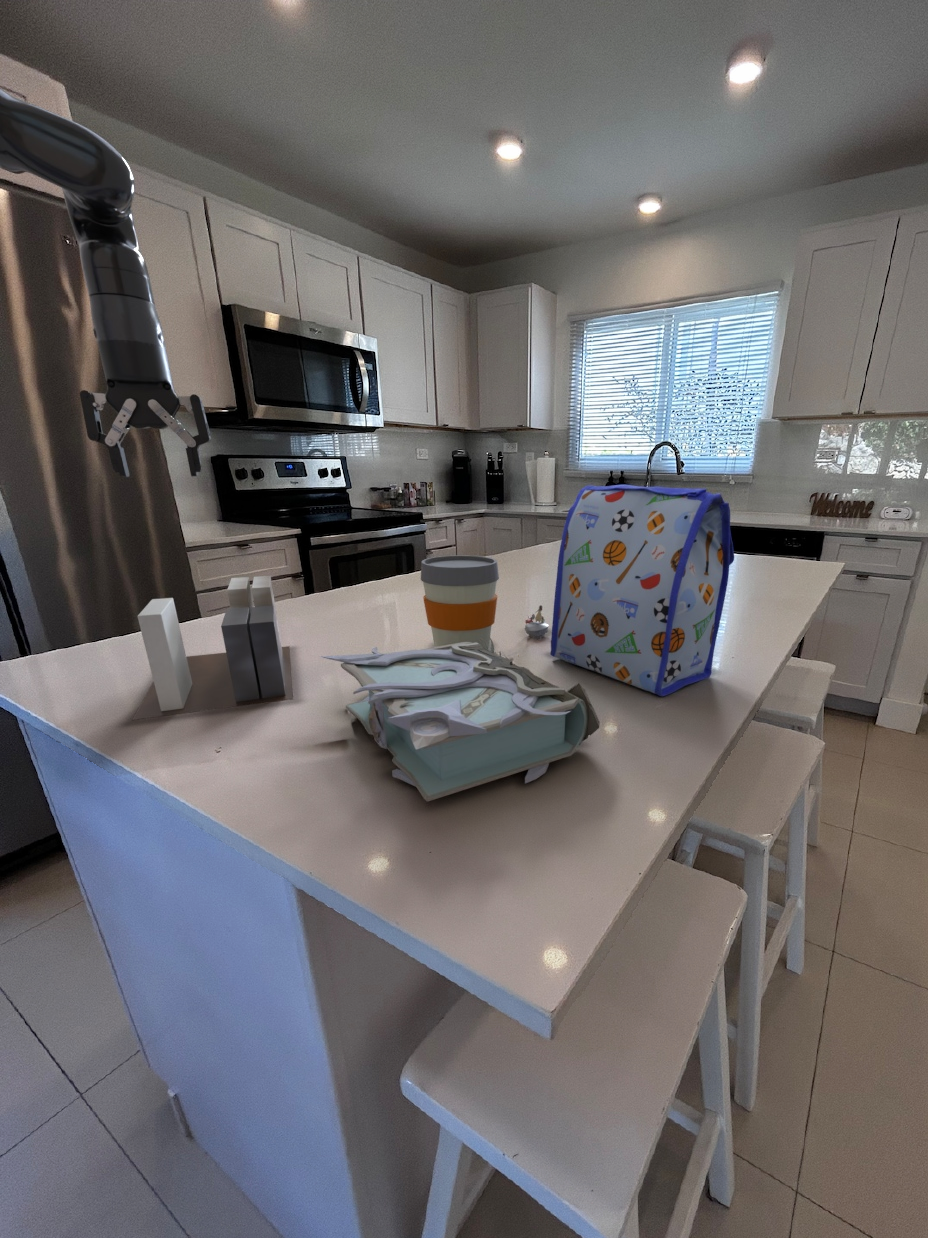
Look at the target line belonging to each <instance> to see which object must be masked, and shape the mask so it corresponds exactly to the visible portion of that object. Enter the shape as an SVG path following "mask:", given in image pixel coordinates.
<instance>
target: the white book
mask: <svg viewBox="0 0 928 1238" xmlns="http://www.w3.org/2000/svg"><path fill="white" fill-rule="evenodd" d="M137 620H138V625H139V628H140V629H139V630H140V632H141V636H142V640H143V641H142V642H143V644H144V649H145V652H146V655H147V656H146V657H147V660H148V664H149V669H150V673H151V676H152V680H153V681H154V685H155V688H156V692H157V696H158V700H159V704H160V708H161V711H168V710H176V709H183V708H184V705H185V702H186V699H187V697H188V694H189V691H190V689H191V686H192V680H191V675H190V671H189V667H188V662H187V658H186V657H187V653H186V649H185V644H184V640H183V635H182V630H181V627H180V621H179V618H178V613H177V609H176V605H175V601H174V598H173V597H165V598H152V599H151V600H150V601H149V602H148V603H147V604H146V606H145V607H144V608H143V609H142V610H141V611H140V613H139V614H138V615H137ZM153 681H152V682H153Z"/></svg>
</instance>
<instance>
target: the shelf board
mask: <svg viewBox="0 0 928 1238" xmlns="http://www.w3.org/2000/svg"><path fill="white" fill-rule="evenodd" d="M250 583H251V582H250V577H249V576H244V577H231V579H230V581H229V584H228V587H227V589H226V592H227V598H228V602H229V608H226V610H225V613H224V617H223V619H222V622H221V626H220V628H221V634H222V639H223V643H224V648H225V652H220V653H209V654H208V653H207V654H199V655H189V656H188V655H187V656H186V658H187V662H188V667H189V671H190V675H191V680H192V686H191V689H190V691H189V694H188V697H187V699H186V702H185V705H184V708H183V709H176V710H168V711H161V708H160V704H159V700H158V696H157V692H156V688H155V685H154V681H152V683H151V685H150V687H149V689H148V691H147V692H146V694H145V696H144V698H143V700H142V701H141V703H140V705H139V707H138V709H137V711H136V712H135V714H134V716H133V718H132V721H138V720H146V719H155V718H160V717H168V716H176V715H184V714H192V713H200V712H206V711H214V710H223V709H230V708H238V707H245V706H253V705H259V704H267V703H276V702H285V701H289V700H291V701H292V700H294V699H295V694H294V683H293V672H292V671H293V670H292V669H293V668H292V658H291V657H292V656H291V646H290V645H289V646H288V645H287V646H282V640H281V639H282V638H281V633H280V627H279V621H278V615H277V609H276V608H277V607H276V602H275V596H274V588H273V582H272V576H271V575H259V576H253V580H252V585H251V584H250Z"/></svg>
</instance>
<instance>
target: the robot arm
mask: <svg viewBox="0 0 928 1238" xmlns="http://www.w3.org/2000/svg"><path fill="white" fill-rule="evenodd" d="M0 169H2V170H3V171H7V172H9V173H12V174H15V175H21V174H25V173H28V174H31V175H33V176H36V177H37V178H41V179H42V180H44V181H46V182H49V183H51V184H53V185H54V186H57V187H59V188H61V190H62V195H63V198H64V202H65V206H66V208H67V212H68V217H69V219H70V223H71V227H72V229H73V232H74V235H75V239H76V241H77V244H78V248H79V257H80V263H81V268H82V273H83V277H84V282H85V286H86V291H87V295H88V299H89V300H88V301H89V305H90V307H89V308H90V316H91V322H92V327H93V329H92V331H93V336H94V338H95V339H96V343H97V344H96V345H97V347H98V352H99V356H100V360H101V364H102V369H103V373H104V378H105V382H106V392H104V393H102V392H94V391H93V392H91V391H89V390H85V389H83V390H81V391H80V392H79V398H80V403H81V409H82V414H83V420H84V424H85V425H84V426H85V430H86V434H87V438H88V439H89V440H90V441H92V442H97V443H99V444H102V445H104V446H105V447H107V449H108V453H109V454H108V455H109V458H110V462H111V465H112V469H113V470H114V472H115V473H119V476H120V477H121V478H129V477H130V470H129V467H128V463H127V459H126V458H127V457H126V454H125V450H124V447H122V446H121V444H122V442H123V440H124V439H125V437H126V435H127V434H128V433H129V431H130V430H131V428H135V429H137V430H138V429H139V430H145V429H150V428H153V429H157V430H166V429H167V428H170V430H171V431H173V433H174V434H175V435H176V436H177V437H179V439H181V440H182V441H183V443H185V445H186V447H185V451H186V452H185V453H186V456H187V457H186V458H187V461H188V467H189V468H188V469H189V473H190V476H191V477H199V473H202V470H203V465H202V460H201V454H200V447H201V446H202V445H206V444H209V443H211V441H212V437H211V432H210V429H209V428H210V427H209V424H208V421H207V416H206V411H205V407H204V404H203V400H202V398H201V397H200V396H198V395H197V394H191V395H188V396H187V395H185V396H184V395H183V396H182V395H181V396H179V395H178V394H177V393H176V391H175V388H174V384H173V380H172V379H173V377H172V373H171V372H172V371H171V367H170V363H169V358H168V353H167V348H166V341H165V338H164V337H165V336H164V333H163V332H164V331H163V328H162V324H161V320H160V317H159V314H158V311H157V307H156V303H155V298H154V293H153V290H152V289H153V288H152V283H151V278H150V274H149V270H148V269H149V268H148V267H147V263H146V260H145V258H144V256H143V254H142V253H141V252H140V248H139V243H138V237H137V232H136V228H135V222H134V216H133V215H134V214H133V207H132V206H133V201H134V198H135V194H136V193H135V192H136V185H135V180H134V179H135V178H134V176H133V173H132V170H131V167H130V165H129V164H128V163H127V161H126V160H125V158H124V157H123V156H122V154H121V153H120V152H119V151H118V149H116V148H115V147H114V146H113V145H112V144H111V143H110V142H108V141H107V140H106V139H104V138H103V137H101V136H100V135H99V134H97V133H95V132H94V131H93V130H91V129H90V128H87V127H85V125H83V124H80V123H78V122H76V121H74V120H71V119H69V118H68V117H65V116H62V115H60V114H57V113H55V112H53V111H51V110H48V109H46V108H43V107H41V106H39V105H36V104H33V103H30V102H27V101H24V100H22V99H19V98H17V97H15V96H13V95H11V94H10V93H9V92H7V91H5V90H3V89H2V88H0ZM105 404H108V405H109V406H110V407H111V408H112V409H113V410H114V411H115V412H116V414H117V416H116V417H115V419H114V420H113V422H112V424H111V428H110V429H109V431H108V433H107V434H106V433H104V431H103V426H102V421H101V415H100V411H103V410H104V405H105ZM181 405H183V406H184V407H185V409H186V411H187V412H188V413H190V414H193V417H194V422H195V425H196V430H197V433H198V434H197V435H192V434H191V433H190V432H189V431H188V429H186V427H185V426H184V425H183V424H182V423H181V422H180V421H179V419H177V417H176V415H177V413H178V412H179V411H180V410H179V409H180V408H181Z"/></svg>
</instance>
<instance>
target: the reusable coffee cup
mask: <svg viewBox="0 0 928 1238" xmlns="http://www.w3.org/2000/svg"><path fill="white" fill-rule="evenodd" d="M499 575H500V574H499V566H498V560H497V559H495V558H493V557H489V556H482V555H465V554H463V555H461V554H460V555H459V554H457V555H456V554H455V555H441V556H433V557H429V558H425V559H422V560H421V565H420V581H421V582H422V583H423V590H424V595H423V597H422V598H423V604H424V610H425V614H426V620H427V621H426V622H427V624H428V626H430V628H431V635H432V639H433V644H434V647H438V646H444V645H450V644H455V643H461V642H474V643H476V642H477V643H479V644H480V645H481V646H482V647H484V645H483V643H482V642H481V641H480V639H483V640H484V641H485V643H486V645H487V647H488V650H489V651H490V644H491V641H490V638H491V635H492V626H493V625H494V624H495V620H496V612H497V604H498V594H497V593H496V591H497V582H498V581H499V579H500V576H499ZM489 636H490V637H489Z"/></svg>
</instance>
